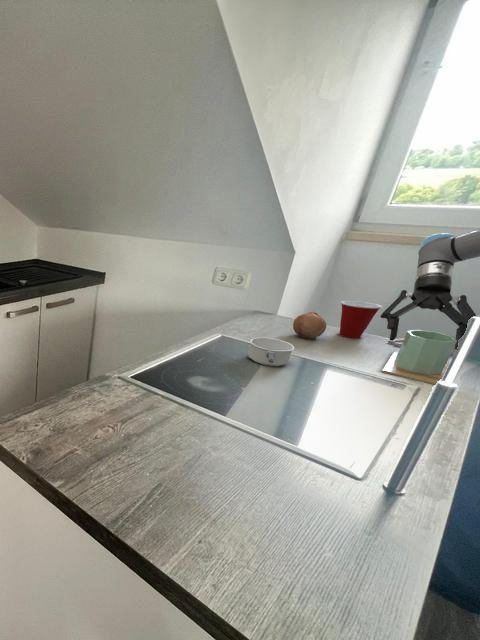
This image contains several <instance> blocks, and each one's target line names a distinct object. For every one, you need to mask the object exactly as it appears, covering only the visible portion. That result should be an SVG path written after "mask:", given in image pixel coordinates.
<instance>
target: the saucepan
mask: <svg viewBox="0 0 480 640" xmlns="http://www.w3.org/2000/svg"><path fill="white" fill-rule="evenodd" d="M249 342H250V346H249V348H248V353H247V357H248V358H250V359H251V360H252V361H254V362H255V363H257V364H260V365H262V366H268V367H280V366H284V365H287V364H288V363H289V362H290V359H291V355H292V351H294V350H295V346H294V345H293V344H292V343H291V342H288V341H285V340H282V339H278V338H273V337H253V338H251V339H249Z"/></svg>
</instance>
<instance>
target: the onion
mask: <svg viewBox="0 0 480 640" xmlns="http://www.w3.org/2000/svg"><path fill="white" fill-rule="evenodd" d="M292 330H293V331H294V333H295V334H296V335H297V336H298V337H300V338H302V339H305V340H306V339H317V338H318V337H321V336H322V334H324V333H325V332H326V330H327V322H326V320H325V318H323V317H322V316H320V315H319V314H318V313H317V312H315V311H309V312H307V313H303V314H300V315H298V316H296V318H294V320H293V322H292Z"/></svg>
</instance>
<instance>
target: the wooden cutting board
mask: <svg viewBox="0 0 480 640" xmlns="http://www.w3.org/2000/svg"><path fill="white" fill-rule="evenodd" d="M398 352H399V351H398ZM398 352H397V351H393V353H392V354H391V356H390V357H389V359H388V361H387V362H386V363H385V365H384V367H382V370H381V373H385V374H388V375H394V376H397V377H402V378H405V379H410V380H415V381H418V382H423V383H427V384H431V385H435V386H437V385H436V383H437V381H439V380H440V379H442V377H443V375H444V373H445V371H446V369H447V370H448V368H449V365H450V363H449V362H447V363H446V365H445V367H444V369H443V371H442V373H441V374H435V375H426V374H420V373H414V372H410V371H407V370H405V369H402V368H399V367H397V366H396V364H395V359H396V357H397V355H398ZM447 367H448V368H447ZM446 372H447V371H446Z"/></svg>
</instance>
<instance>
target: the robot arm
mask: <svg viewBox="0 0 480 640" xmlns="http://www.w3.org/2000/svg"><path fill="white" fill-rule="evenodd" d="M417 254H418V258H417V259H418V260H417V266H416V272H415V273H416V274H415V277H414V286H413V292H408V291H407V290H406V289H402V290H401V291H400V292H399V294H398V295H397V298H396V299H395V300H394V301H393V302H392V303H391V304H390V305H389V306H387V308H386V309H384V310H383V312H382V313H381V315H380V318H381V319H386V321H387V325H386V328H387V330H390V335H389V341H391V342H393V341H394V340H395V339H396V338H397V337H398V331H399V324H400V317H401V316H403V315H405V314H407V313H408V312H410V311H412V310H414V309H416V308H420V309H421V310H422V309H424V310H427V309H429V310H433V311H435V310H438V311H439V312H440V313H443V314H444V315H445V316H446V317H448V318H449V320H451V321H452V322H453V323H454V324H456V326H458V327H457V328H456V333H455V339H456V340H457V342H456V344H455V347H454V350H458V349H457V347H458V340H459V339H460V338H461V337H462V336H463V335H464V333H465V331H466V328H467V323H468V320H469V319H470V318H471V317H473V316H477V314H476V313H475V311H474V309H473V308H472V307H471V305H470V304H469V303H468V299H467V295H465V294H461V295H460V296H452V294H451V292H452V284H453V273H454V266H455V263H458V262H464V261H467V260H471V259H475V258H479V257H480V229H478V230H474V231H470V232H468V233H467V232H466V233H464V234H462V235H457V236H455V234H452V233H447V232H443V233H435V234H431V235H429V236H427V237H425V238H424V239H423V240H422V241H421V243H420V246H419V250H418V253H417ZM409 298H410V300H411V301H412V302H410V303H408V304H407V305H405V306H404V307H402V308H400V309H398V310H396V311H394V310H395V309H396V308H397V307H398V306H399V305H400V304H401V303H402V302H403V301H405V300H407V299H409ZM451 302H452V303H451ZM453 305H455V306H456V308H457V309H456V308H455V307H454V306H453ZM393 311H394V312H393ZM392 312H393V313H392Z"/></svg>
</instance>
